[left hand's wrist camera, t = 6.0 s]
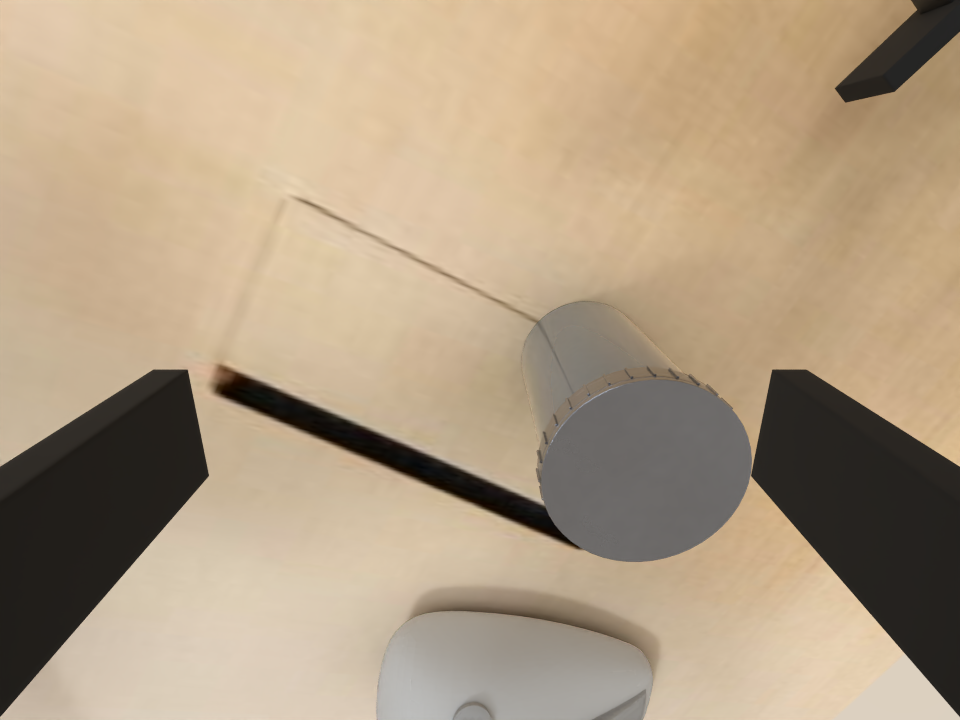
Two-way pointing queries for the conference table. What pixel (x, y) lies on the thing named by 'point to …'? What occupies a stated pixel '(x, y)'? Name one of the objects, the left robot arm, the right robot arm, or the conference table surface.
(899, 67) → the right robot arm
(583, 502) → the lid
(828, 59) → the conference table surface
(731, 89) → the conference table surface
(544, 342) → the jar
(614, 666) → the projector
